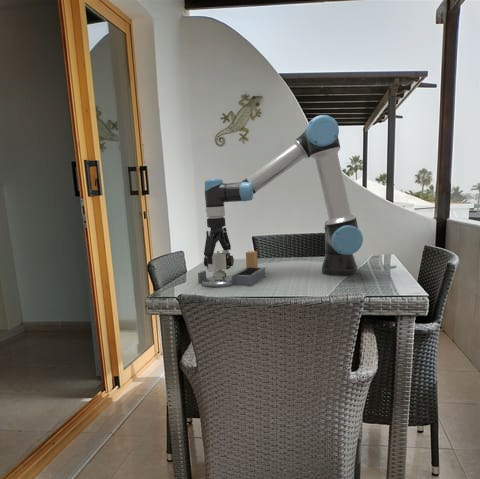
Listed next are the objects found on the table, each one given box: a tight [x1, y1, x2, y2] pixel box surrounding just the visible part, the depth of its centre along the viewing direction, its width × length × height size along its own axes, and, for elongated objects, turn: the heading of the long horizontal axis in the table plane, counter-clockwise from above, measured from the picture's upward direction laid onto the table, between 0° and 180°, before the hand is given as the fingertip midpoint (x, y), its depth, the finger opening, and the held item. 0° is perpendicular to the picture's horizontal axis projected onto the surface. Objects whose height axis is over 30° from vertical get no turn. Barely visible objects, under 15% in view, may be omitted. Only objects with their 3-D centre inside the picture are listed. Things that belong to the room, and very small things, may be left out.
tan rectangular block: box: [245, 250, 259, 268], centre depth 163 cm, size 4×4×10 cm
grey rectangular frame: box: [231, 266, 267, 287], centre depth 149 cm, size 9×17×4 cm, turn 157°
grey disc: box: [197, 270, 241, 289], centre depth 148 cm, size 18×15×4 cm
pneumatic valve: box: [203, 250, 235, 280], centre depth 148 cm, size 6×12×12 cm, turn 76°
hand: (219, 268), depth 148 cm, fingers open, 13 cm apart
